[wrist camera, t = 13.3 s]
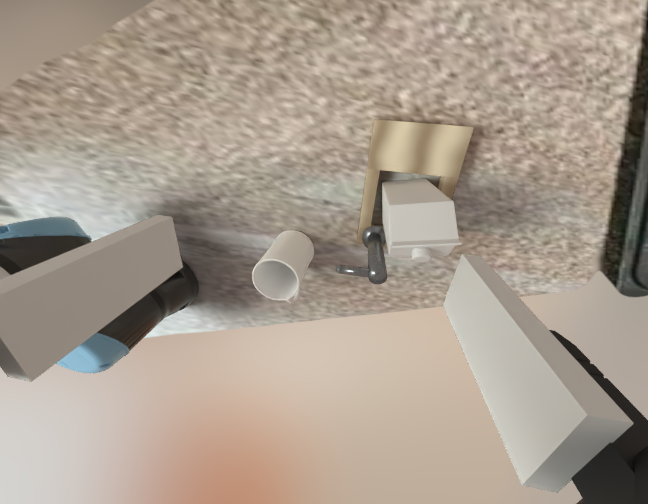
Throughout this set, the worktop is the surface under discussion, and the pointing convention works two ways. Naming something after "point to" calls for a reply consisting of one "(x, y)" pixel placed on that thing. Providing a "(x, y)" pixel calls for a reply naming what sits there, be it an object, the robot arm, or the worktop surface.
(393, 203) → the milk carton
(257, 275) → the mug
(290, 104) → the worktop surface
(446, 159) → the tan flat frame
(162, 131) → the worktop surface
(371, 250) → the metal door lever handle
